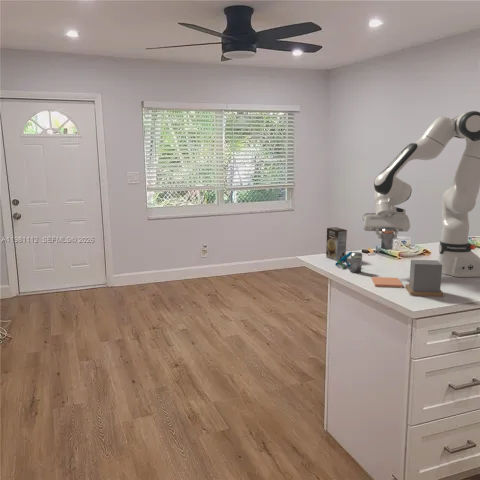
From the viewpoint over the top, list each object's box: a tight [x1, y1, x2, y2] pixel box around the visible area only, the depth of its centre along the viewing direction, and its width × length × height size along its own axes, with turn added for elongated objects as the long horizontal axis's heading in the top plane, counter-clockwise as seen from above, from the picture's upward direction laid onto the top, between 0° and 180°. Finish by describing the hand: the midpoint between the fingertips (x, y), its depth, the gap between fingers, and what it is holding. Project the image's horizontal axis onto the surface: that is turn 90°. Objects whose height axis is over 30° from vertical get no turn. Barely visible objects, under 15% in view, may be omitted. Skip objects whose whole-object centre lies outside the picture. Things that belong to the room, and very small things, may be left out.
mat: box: [371, 276, 404, 288], centre depth 182 cm, size 11×11×1 cm
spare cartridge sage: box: [349, 251, 363, 274], centre depth 200 cm, size 5×5×9 cm
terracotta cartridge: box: [380, 228, 395, 250], centre depth 193 cm, size 5×5×9 cm
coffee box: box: [325, 226, 348, 262], centre depth 225 cm, size 9×6×16 cm
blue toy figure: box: [335, 251, 352, 269], centre depth 210 cm, size 11×6×10 cm
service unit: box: [404, 259, 444, 298], centre depth 169 cm, size 12×10×12 cm
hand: (387, 237), depth 192 cm, fingers closed on terracotta cartridge, 5 cm apart
